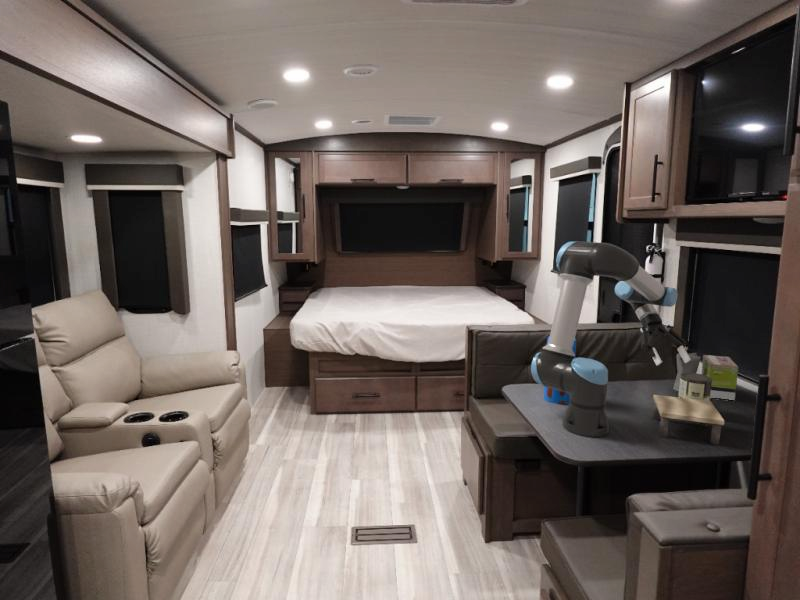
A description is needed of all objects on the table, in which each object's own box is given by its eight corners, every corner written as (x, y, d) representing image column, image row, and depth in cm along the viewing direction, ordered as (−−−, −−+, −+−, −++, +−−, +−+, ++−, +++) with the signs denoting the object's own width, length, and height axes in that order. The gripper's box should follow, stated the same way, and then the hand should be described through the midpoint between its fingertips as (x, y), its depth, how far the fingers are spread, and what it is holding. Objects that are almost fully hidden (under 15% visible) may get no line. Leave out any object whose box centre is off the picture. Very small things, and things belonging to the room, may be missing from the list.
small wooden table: (658, 436, 165) (661, 412, 164) (651, 416, 182) (653, 394, 181) (721, 445, 159) (724, 420, 158) (707, 424, 176) (710, 401, 175)
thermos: (575, 404, 193) (580, 342, 189) (547, 404, 193) (551, 341, 189) (566, 394, 204) (571, 335, 200) (540, 394, 204) (544, 334, 200)
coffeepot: (688, 396, 203) (693, 354, 200) (665, 390, 211) (669, 348, 208) (706, 389, 212) (711, 348, 209) (683, 383, 220) (687, 343, 217)
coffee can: (698, 407, 192) (702, 372, 189) (714, 418, 181) (718, 381, 179) (671, 407, 192) (674, 372, 189) (685, 418, 182) (689, 380, 179)
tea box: (698, 386, 216) (702, 353, 213) (725, 389, 212) (730, 356, 210) (706, 398, 202) (710, 363, 199) (735, 401, 198) (739, 366, 196)
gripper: (668, 321, 212) (693, 365, 200) (618, 323, 205) (641, 369, 194) (679, 311, 206) (706, 355, 194) (628, 313, 199) (653, 360, 188)
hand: (673, 362), depth 194 cm, fingers open, 13 cm apart
